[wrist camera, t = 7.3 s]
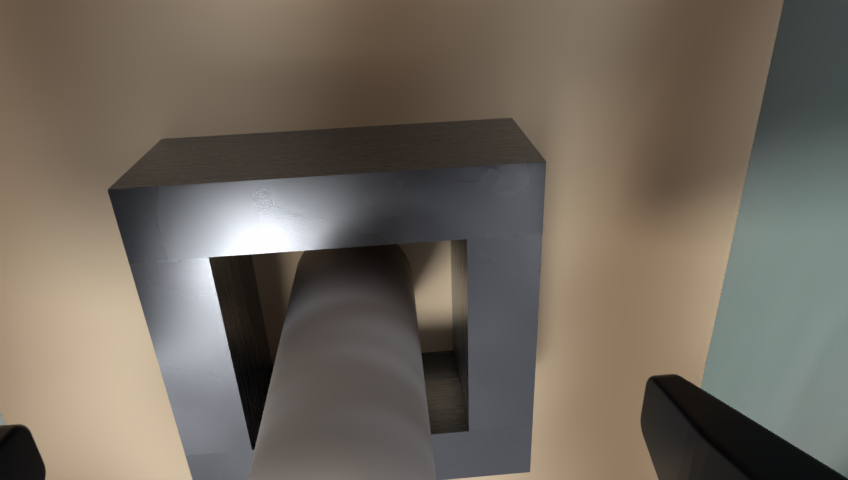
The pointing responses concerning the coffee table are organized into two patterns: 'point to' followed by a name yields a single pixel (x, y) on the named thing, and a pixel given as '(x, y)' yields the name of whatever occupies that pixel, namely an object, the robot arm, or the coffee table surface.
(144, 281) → the collar
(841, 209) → the coffee table surface
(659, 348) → the wooden peg base
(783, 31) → the coffee table surface
